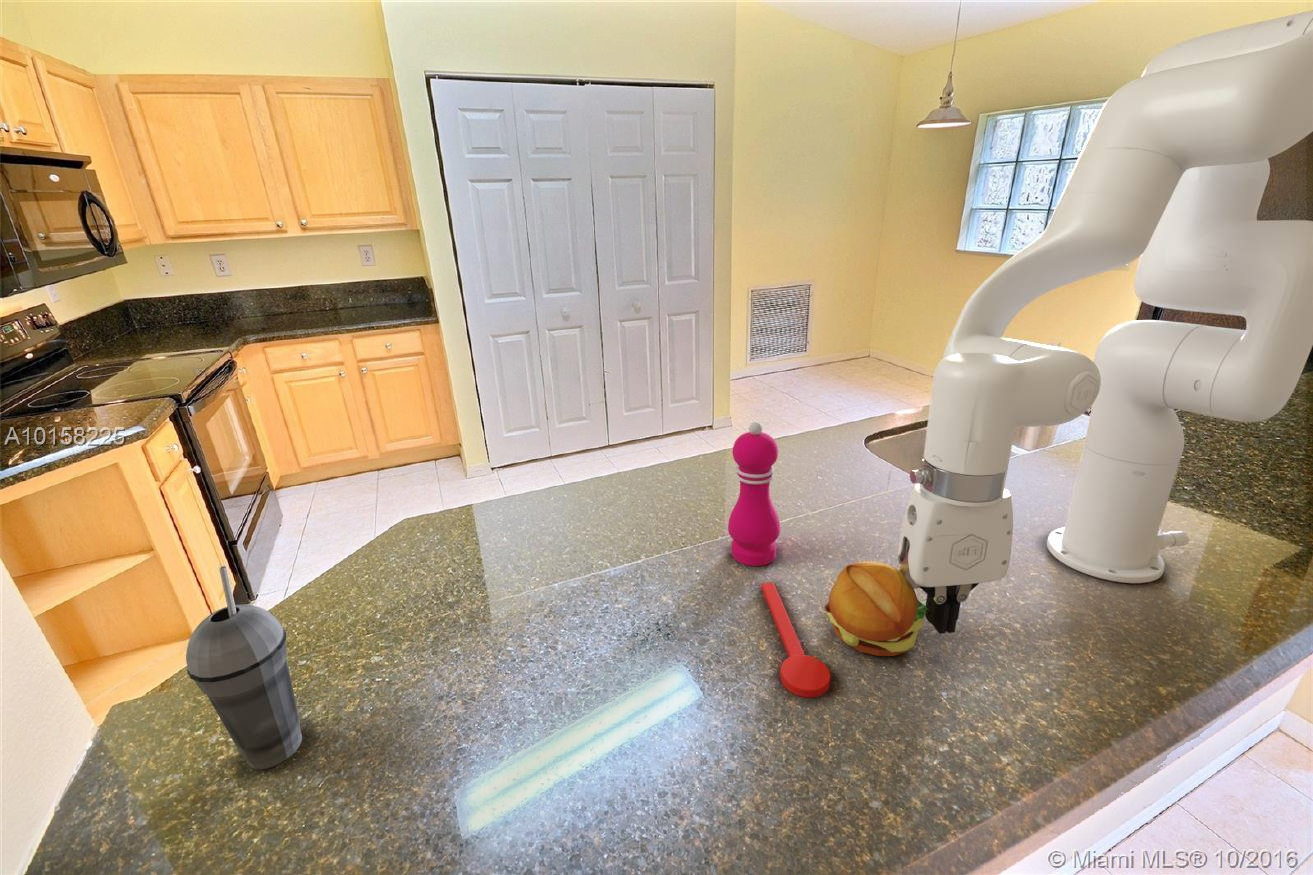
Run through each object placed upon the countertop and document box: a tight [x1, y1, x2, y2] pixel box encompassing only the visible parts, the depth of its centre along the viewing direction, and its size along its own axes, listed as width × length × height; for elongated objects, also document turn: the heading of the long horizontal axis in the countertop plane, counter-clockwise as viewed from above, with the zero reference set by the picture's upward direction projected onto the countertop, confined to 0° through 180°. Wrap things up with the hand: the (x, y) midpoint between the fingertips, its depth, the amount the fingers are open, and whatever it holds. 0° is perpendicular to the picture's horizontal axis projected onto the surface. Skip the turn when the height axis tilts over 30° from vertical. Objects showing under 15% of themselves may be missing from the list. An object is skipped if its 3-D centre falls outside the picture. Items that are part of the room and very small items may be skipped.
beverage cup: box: [185, 565, 303, 770], centre depth 51 cm, size 7×7×20 cm
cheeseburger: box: [823, 561, 928, 657], centre depth 64 cm, size 10×11×10 cm
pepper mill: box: [727, 421, 781, 567], centre depth 79 cm, size 7×7×20 cm
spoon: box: [760, 582, 831, 699], centre depth 66 cm, size 5×18×1 cm, turn 4°
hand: (939, 624), depth 65 cm, fingers closed
